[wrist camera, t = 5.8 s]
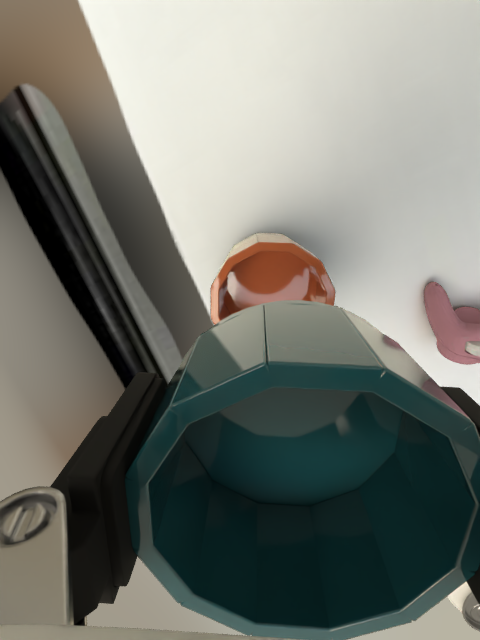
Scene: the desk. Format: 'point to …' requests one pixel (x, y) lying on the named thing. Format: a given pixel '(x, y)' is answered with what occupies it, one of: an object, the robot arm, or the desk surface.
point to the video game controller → (453, 326)
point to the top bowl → (305, 479)
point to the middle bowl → (268, 276)
